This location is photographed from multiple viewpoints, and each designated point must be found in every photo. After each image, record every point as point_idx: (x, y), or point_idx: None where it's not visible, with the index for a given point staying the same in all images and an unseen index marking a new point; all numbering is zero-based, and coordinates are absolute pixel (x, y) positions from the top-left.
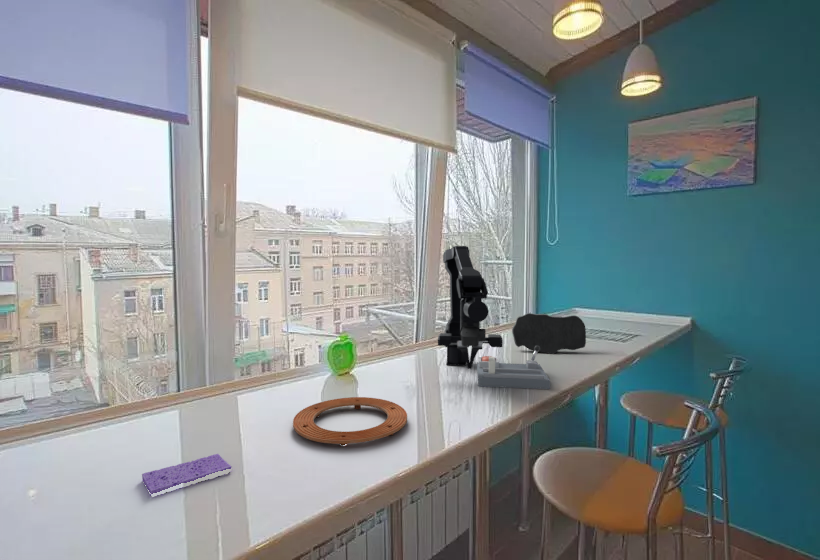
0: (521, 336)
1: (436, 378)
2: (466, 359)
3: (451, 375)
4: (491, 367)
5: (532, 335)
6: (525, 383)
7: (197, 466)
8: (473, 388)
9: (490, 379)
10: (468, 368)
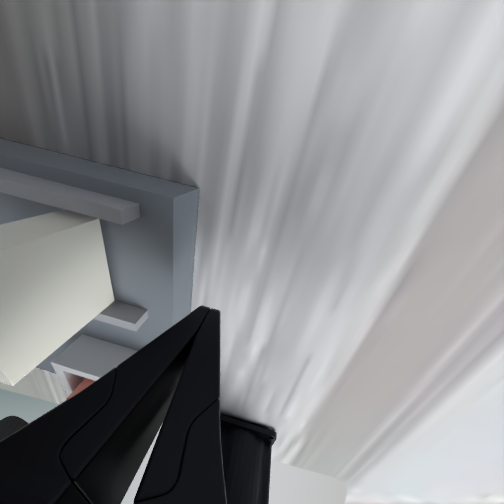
0: None
1: (377, 337)
2: (208, 383)
3: (291, 355)
4: (17, 235)
5: None
6: None
7: None
8: (232, 147)
9: (101, 177)
10: (218, 311)
